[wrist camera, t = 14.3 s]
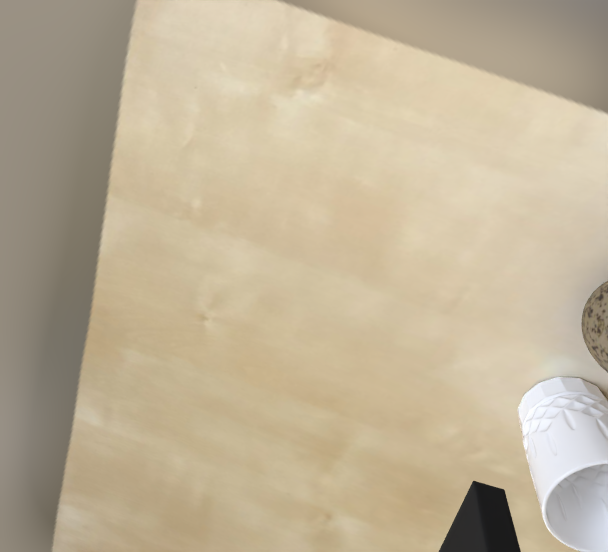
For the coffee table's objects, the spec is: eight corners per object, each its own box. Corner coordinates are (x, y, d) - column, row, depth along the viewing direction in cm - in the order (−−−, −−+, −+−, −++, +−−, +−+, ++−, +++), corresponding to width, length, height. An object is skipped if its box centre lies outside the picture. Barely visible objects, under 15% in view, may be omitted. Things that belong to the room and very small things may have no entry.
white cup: (504, 376, 41) (536, 466, 32) (613, 362, 39) (681, 455, 30) (515, 454, 44) (548, 558, 34) (617, 445, 42) (680, 553, 33)
